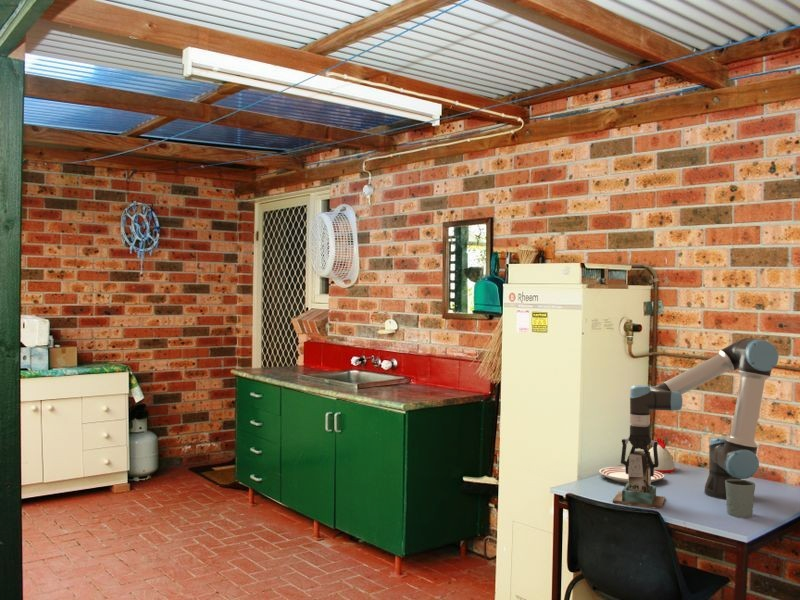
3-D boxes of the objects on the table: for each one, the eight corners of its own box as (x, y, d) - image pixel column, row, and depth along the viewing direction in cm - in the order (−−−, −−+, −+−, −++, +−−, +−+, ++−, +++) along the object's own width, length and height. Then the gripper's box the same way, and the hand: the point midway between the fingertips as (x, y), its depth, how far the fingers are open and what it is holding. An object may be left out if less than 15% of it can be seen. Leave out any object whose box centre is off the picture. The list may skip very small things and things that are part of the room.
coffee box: (645, 497, 285) (645, 455, 285) (628, 495, 288) (628, 453, 288) (650, 492, 293) (650, 451, 293) (634, 489, 296) (634, 449, 296)
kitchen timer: (658, 474, 335) (658, 441, 335) (636, 468, 348) (637, 436, 348) (681, 472, 341) (681, 439, 341) (659, 466, 354) (659, 434, 354)
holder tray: (665, 499, 294) (665, 486, 294) (661, 508, 280) (661, 495, 280) (618, 493, 301) (618, 481, 301) (612, 502, 288) (612, 489, 288)
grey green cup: (722, 515, 272) (723, 482, 272) (727, 509, 280) (727, 477, 280) (753, 520, 266) (753, 486, 266) (756, 513, 275) (756, 481, 275)
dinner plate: (601, 470, 344) (601, 463, 344) (664, 475, 335) (664, 468, 335) (596, 484, 318) (597, 476, 318) (664, 490, 309) (664, 482, 309)
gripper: (612, 424, 291) (612, 482, 291) (665, 428, 283) (664, 488, 283) (615, 421, 298) (615, 478, 298) (667, 425, 290) (666, 484, 290)
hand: (639, 483), depth 291 cm, fingers closed on coffee box, 7 cm apart
